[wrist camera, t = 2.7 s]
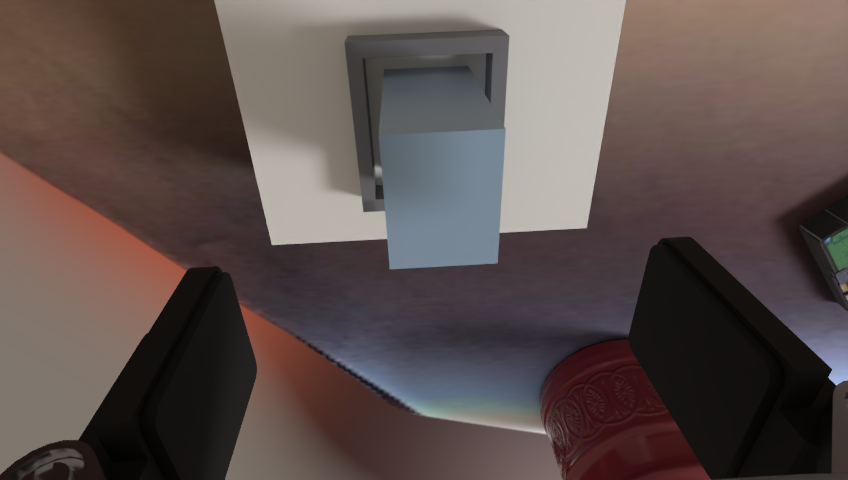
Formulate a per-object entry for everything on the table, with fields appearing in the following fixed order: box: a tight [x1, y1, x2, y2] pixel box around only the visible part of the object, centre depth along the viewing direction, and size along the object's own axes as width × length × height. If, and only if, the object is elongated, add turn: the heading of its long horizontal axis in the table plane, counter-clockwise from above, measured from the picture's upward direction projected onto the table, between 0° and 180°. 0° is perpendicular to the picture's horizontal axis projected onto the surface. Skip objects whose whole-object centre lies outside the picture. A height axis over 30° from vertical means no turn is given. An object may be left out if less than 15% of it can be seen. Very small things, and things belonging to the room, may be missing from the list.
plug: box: [379, 66, 506, 269], centre depth 18 cm, size 4×4×8 cm
